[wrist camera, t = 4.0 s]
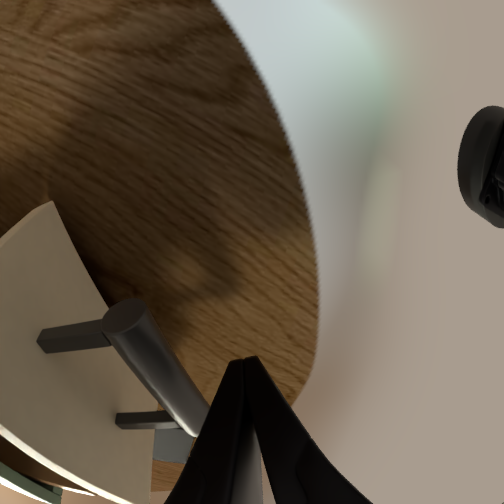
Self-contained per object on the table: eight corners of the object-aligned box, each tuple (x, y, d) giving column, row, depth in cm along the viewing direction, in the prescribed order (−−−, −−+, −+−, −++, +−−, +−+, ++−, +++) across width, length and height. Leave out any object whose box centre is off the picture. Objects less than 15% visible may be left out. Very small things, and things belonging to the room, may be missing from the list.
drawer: (145, 163, 9) (14, 326, 3) (230, 372, 15) (241, 510, 8) (-69, 269, 10) (-128, 347, 3) (18, 387, 16) (-9, 467, 9)
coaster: (196, 424, 20) (196, 431, 19) (186, 459, 24) (185, 464, 24) (84, 402, 18) (82, 409, 17) (99, 443, 22) (98, 448, 22)
